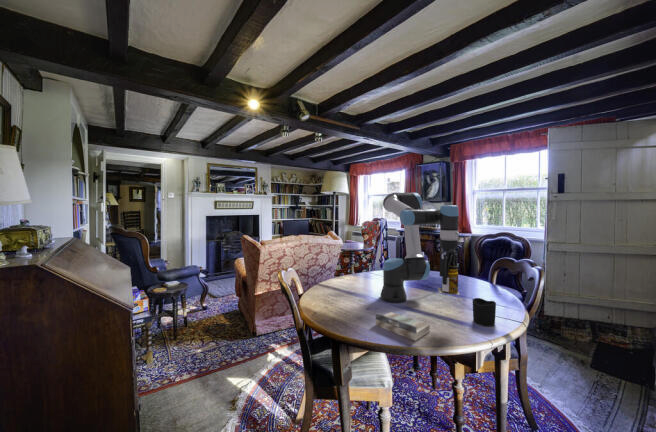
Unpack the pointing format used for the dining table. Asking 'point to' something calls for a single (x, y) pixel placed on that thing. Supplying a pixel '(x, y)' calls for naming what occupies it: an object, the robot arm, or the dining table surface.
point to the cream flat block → (402, 325)
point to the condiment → (452, 281)
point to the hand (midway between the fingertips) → (448, 289)
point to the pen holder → (484, 312)
